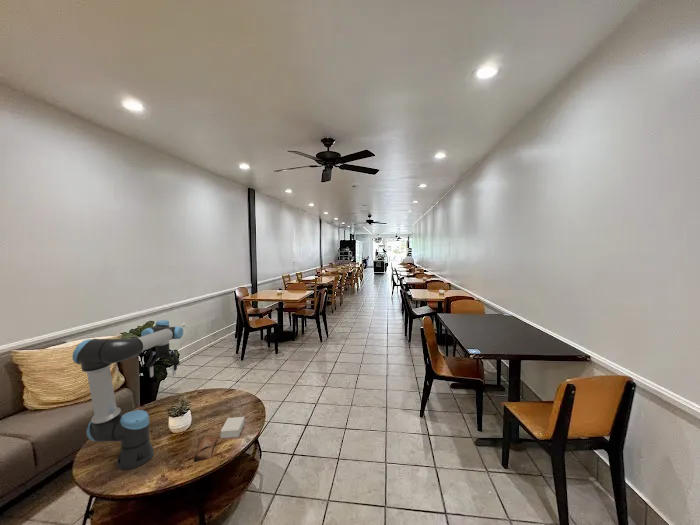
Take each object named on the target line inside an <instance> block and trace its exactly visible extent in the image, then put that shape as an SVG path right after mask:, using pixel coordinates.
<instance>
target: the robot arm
mask: <svg viewBox="0 0 700 525" xmlns="http://www.w3.org/2000/svg"><path fill="white" fill-rule="evenodd" d="M183 335H184V329H183V327H182V326H170V321H169V320H168V319H162V320H157V321H156V322H155V325H153V326H150V327H147V328H145V329H143V330H142V331H141V332H140V336H139V337H135V336H134V337H130V338H92V339H91V338H90V339H85V340H83V341H81V342H79V343H78V345H76V347H75V348H74V350H73V352H72V356H71V357H72V361H73V362H74V363H75V364H77V365H81V366H80V368H81V371H82V372H84V373H86V375H87V380H88V386H89V391H90V398H91V404H92V409H93V416H92V417H91V420H90V421H89V423H88V424H87V428H86V437H87V439H89V440H90V441H91V442H92V441H93V442H96V443H97V442H99V443H102V442H120V445H121V446H120V452H119V454H118V457H117V459H116V467H117V469H118V470H124V471H127V470H131V469H135V468H137V467H140V466H142V465H144V464H146V463H148V462H149V461H150V460H151V459H152V457H154V452H155V451H154V447H153V445H152V442H151V440H150V417H149V416H150V415H149V413H148V412H147V411H146V410H142V409H137V410H133V411H132V410H131V411H128V412H126V413H123V414H122V409H121V407H118V406H117V404H116V396H115V391H114V390H115V389H114V384H113V379H112V378H113V377H112V371H111V367H110V366H111V365H112V364H116V363H120V362H124V361H126V360H129V359H131V358H135V357H137V356H139V355H141V354H142V352H144V351H146V350H149V349H151V348H154V347H155V351H154V350H153V351H150V355H149V357H148V359H147V361H146V363H145V364H144V366H145V367H147V368H148V373H149V378H153V377H154V375H155V374H154V372H155V371H154V364H155V363H156V362H157V361H158V359H167V360H168V361H169V363H171V364H172V369H171V370H172V373H171V374H172V377H174V376H176V371H177V370H178V365H179V364H181V360H179V358H178V356H177V354H176V352H175V350H174V349H173V350H170V341H171V340H181V339H182V338H183ZM154 356H155V358H154ZM153 358H154V359H153Z"/></svg>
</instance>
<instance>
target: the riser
mask: <svg viewBox="0 0 700 525" xmlns="http://www.w3.org/2000/svg"><path fill="white" fill-rule="evenodd" d="M245 418H246V417H245V416H239V417H238V416H236V417H227V419H226V421H225V422H224V424H223V426H222V428H221V429H220V439H229V438H230V439H231V438H239V437H240V435H241V433H242V430H243V427H244V425H245V422H246V421H245Z"/></svg>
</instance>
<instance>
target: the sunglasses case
mask: <svg viewBox="0 0 700 525" xmlns="http://www.w3.org/2000/svg"><path fill="white" fill-rule="evenodd" d="M217 441H218V438H214V437H211V436H205V435H203V436H202V437H201V440H200V442H199V445H198V447H197V449H196V451H195V455H194V458H193V461H194V462H195V463H198V462H202V461H206V460H211V459H212V456H213V451H214V449H215V446H216V443H217Z"/></svg>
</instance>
